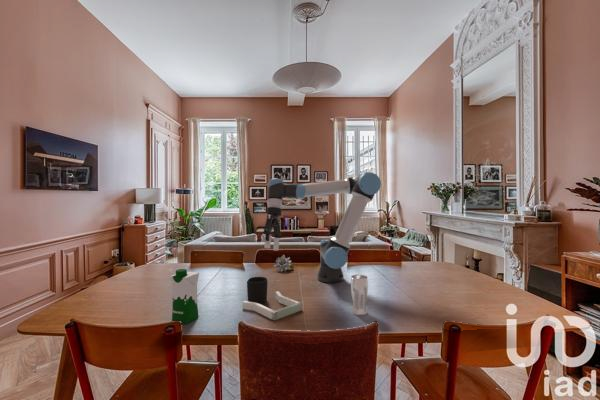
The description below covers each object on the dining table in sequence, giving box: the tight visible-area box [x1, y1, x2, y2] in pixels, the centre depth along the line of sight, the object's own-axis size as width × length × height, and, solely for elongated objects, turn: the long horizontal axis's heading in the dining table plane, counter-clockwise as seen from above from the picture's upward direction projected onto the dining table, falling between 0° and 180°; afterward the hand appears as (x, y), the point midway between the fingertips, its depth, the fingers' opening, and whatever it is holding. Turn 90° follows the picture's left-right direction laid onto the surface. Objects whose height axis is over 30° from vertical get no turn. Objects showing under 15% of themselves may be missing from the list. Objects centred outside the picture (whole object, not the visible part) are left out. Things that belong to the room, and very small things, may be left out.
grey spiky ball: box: [273, 254, 295, 273], centre depth 191 cm, size 11×11×12 cm
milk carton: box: [169, 268, 200, 325], centre depth 115 cm, size 9×9×20 cm
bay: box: [242, 290, 303, 321], centre depth 126 cm, size 19×20×3 cm
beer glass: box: [350, 274, 369, 317], centre depth 121 cm, size 7×7×15 cm
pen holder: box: [246, 276, 268, 305], centre depth 135 cm, size 9×9×10 cm
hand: (271, 249), depth 147 cm, fingers open, 13 cm apart
